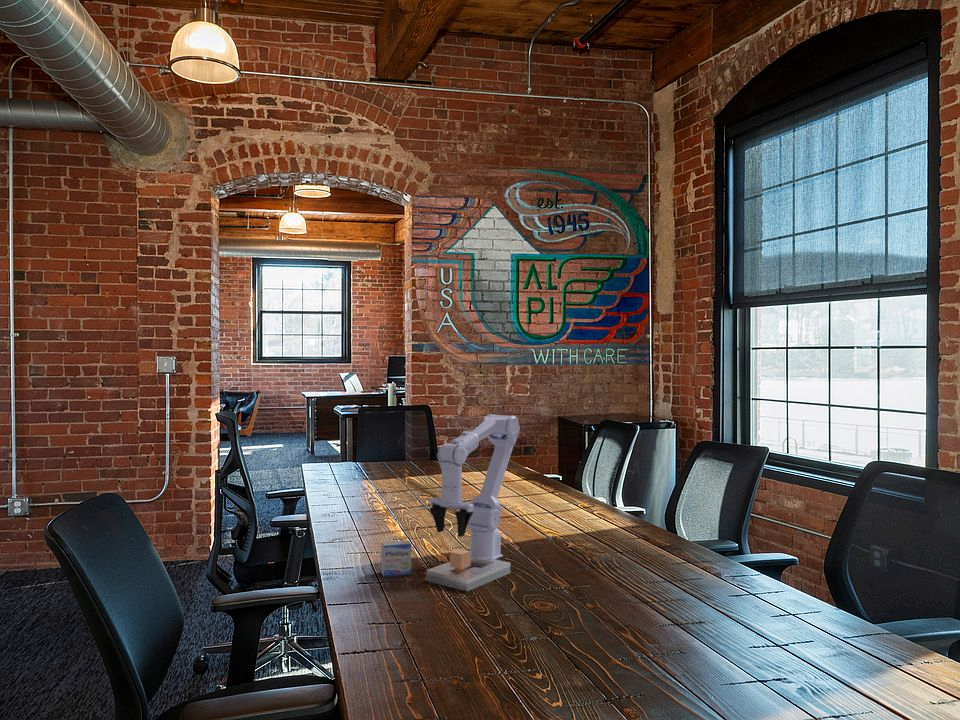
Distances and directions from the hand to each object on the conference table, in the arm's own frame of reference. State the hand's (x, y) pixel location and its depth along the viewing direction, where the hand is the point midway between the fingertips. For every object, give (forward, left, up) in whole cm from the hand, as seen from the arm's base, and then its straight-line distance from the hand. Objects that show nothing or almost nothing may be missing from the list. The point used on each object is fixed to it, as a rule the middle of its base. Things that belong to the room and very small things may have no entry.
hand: (450, 533), depth 213 cm
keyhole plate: (+2, +8, -10) cm, 13 cm away
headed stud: (+6, +8, -11) cm, 14 cm away
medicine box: (+12, -10, -11) cm, 19 cm away
